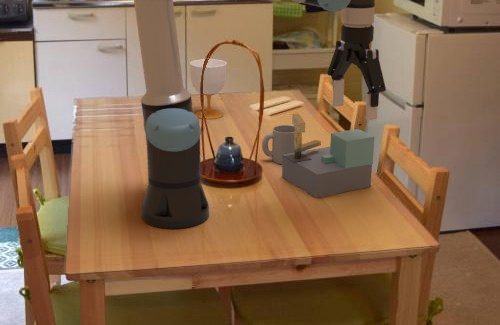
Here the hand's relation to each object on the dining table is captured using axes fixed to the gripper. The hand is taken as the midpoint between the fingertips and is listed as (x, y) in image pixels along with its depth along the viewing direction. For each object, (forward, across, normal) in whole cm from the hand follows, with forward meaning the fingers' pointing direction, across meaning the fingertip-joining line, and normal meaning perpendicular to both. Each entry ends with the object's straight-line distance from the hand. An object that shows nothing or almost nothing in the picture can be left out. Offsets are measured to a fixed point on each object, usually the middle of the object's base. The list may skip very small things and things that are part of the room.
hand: (354, 112), depth 195 cm
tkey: (+12, +8, +7) cm, 17 cm away
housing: (+19, +5, +4) cm, 20 cm away
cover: (+13, 0, +1) cm, 13 cm away
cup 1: (+19, +72, +4) cm, 74 cm away
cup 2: (+19, +24, +6) cm, 31 cm away
